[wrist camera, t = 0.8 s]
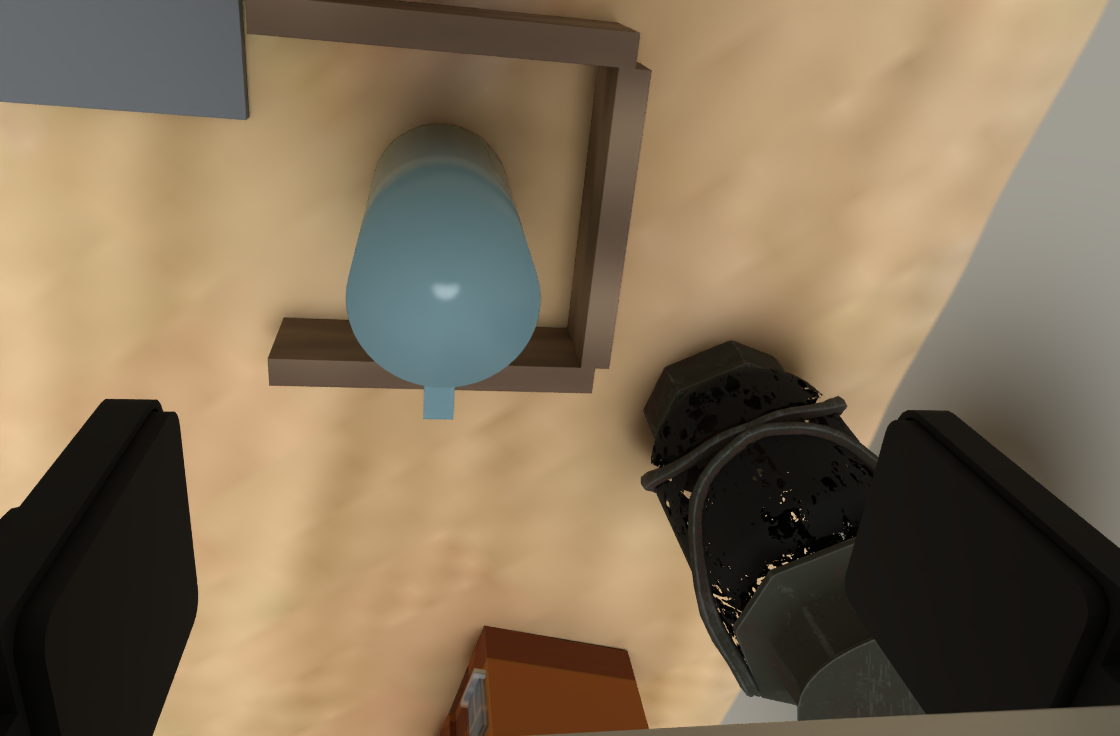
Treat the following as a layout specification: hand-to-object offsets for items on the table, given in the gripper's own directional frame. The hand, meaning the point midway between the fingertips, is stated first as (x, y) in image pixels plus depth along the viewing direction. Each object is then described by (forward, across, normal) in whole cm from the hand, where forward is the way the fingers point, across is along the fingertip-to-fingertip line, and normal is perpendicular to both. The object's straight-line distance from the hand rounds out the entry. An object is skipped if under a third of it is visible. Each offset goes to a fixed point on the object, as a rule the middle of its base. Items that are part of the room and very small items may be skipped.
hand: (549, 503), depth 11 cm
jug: (+26, +1, +3) cm, 26 cm away
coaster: (+26, +13, -5) cm, 29 cm away
